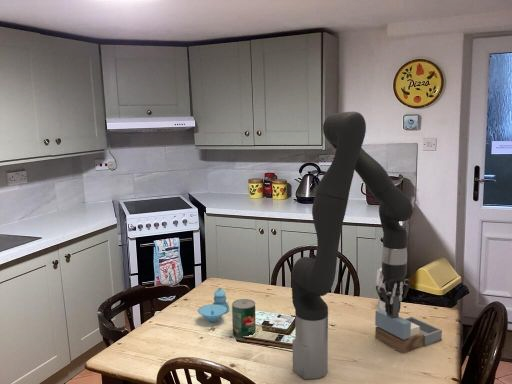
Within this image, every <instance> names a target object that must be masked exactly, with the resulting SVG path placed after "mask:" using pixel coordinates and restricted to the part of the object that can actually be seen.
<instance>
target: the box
mask: <svg viewBox="0 0 512 384" xmlns="http://www.w3.org/2000/svg"><path fill="white" fill-rule="evenodd" d="M404 319H406V320H408V321H410V322H412V323H414V324H416V325H418V326H420V333H422V334H424V343H423V347H426V346H430V345H432V344H435V343H438V342H440V341H442V337H443V335H442V334H443V330H442V329H440V328H439V327H436V326H434V325H432V324H429V323H427V322H424V321H423V320H420V319H418V318H416V317H413V316H408V317H406V318H404Z"/></svg>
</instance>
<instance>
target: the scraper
mask: <svg viewBox="0 0 512 384" xmlns="http://www.w3.org/2000/svg"><path fill="white" fill-rule="evenodd" d="M388 299H390V297H389V298H388ZM392 304H393V314H392V315H389V314H387V313H386V311H385V310H384V309H377V310H375V313H374V315H375V319H374V320H375V321H374V323H375V324H374V325H375V327H377V326H378V327H380V328H382V329H384V330H385V331H387V332H389V333H391V334H393V335H395V336H397V337H399V338H401V339H403V340H404V339H407V338H410V334H411V322H410V321H408V320H406V319H405V318H403V317H401V316H399V315H400V314H399V313H400V312H399V295H396V294H395V297H393V303H392Z"/></svg>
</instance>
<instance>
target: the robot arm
mask: <svg viewBox="0 0 512 384" xmlns="http://www.w3.org/2000/svg"><path fill="white" fill-rule="evenodd" d="M322 131H323V135H324V138H326V140H327V141H328V142H329V144H330V145H331V147H333V148H334V149H335V153H334V156H333V159H332V161H331V164H330V165H329V167H328V168H327V170H326V172H325V173H324V175H323V176H322V178H321V180H319V182H318V185H317V187H316V189H315V194H314V197H313V203H312V207H311V215H312V221H313V226H314V229H315V233H316V239H317V243H316V244H317V246H316V253H315V258H313V257H309V256H303V257H300V258H298V259H297V260H296V262H294V264H293V266H292V270H291V277H290V278H291V279H290V281H291V282H290V283H291V296H292V305H293V308H294V310H295V312H294V313H295V321H294V322H295V326H294V327H295V331H294V332H295V338H293V339H292V371H294V373H295V374H297V375H299V376H300V377H301V378H302V379H304V380H309V379H312V380H314V379H315V380H316V379H320V378H323V377H325V376H326V375H327V374H328V371H329V369H328V365H329V364H328V362H329V360H328V357H329V356H328V355H329V353H328V351H329V350H328V348H329V343H328V342H329V335H328V334H329V307H328V304H327V303H326V301H324V299H323V298H322V297H324V296H325V295H327V294H328V293H329V292H330V291H331V289H332V288H333V285H334V283H335V278H336V273H337V271H336V270H337V263H338V256H339V255H338V254H339V253H338V252H339V245H340V240H341V235H342V229H343V224H344V219H345V215H346V212H347V207H348V202H349V197H350V192H351V191H350V190H351V186H352V183H353V178H354V175H355V174H354V173H355V172H356V173H357V174H358V176H359V177H360V179H361V181H363V183H364V185H365V186H366V188H367V189H368V190H369V191H370V193H371V195H372V196H373V197H374V198H375V199H376V200H378V201H380V203H379V205H378V214H379V220H380V225H381V230H382V233H383V234H382V235H383V237H382V240H383V241H382V251H381V267H382V275H383V281H382V284H381V285H380V286H377V285H376V286H375V290H376V293H377V295H379V296H378V299H379V298H380V300H381V301H382V302H385V303H386V306H385V311H386V313H387V314H389V315H392V314H393V304H392V303H393V297H395V294H396V295H399V313H400V311H401V302H402V301H403V299H406V297H407V295H408V292H409V289H410V286H411V284H412V281H411V279H410V280H409V279H408V278H406V276H407V273H408V272H407V269H408V268H407V267H408V251H407V250H408V249H407V247H408V246H407V242H408V233H407V230H406V229H405V227H403V226H401V224H400V222H402V223H403V222H407V221H408V220H410V219H411V218H412V216H413V213H414V207H413V204H412V201H411V200H410V198H408V196H407V195H406V194H405V193H404V192H403V191H402V190H401V188H399V187H398V186H396V184H395V183H394V182H393V180H392V179H391V176H390V175H389V174H388V172H387V171H386V169H385V168H384V167H383V166H382V165H381V164H380V163H379V162H378V160H376V159H375V158H373V156H371V155H370V154H369V153H368V152H366V151H365V150H364V149H363V148H362V146H363V144H364V141H365V137H366V132H367V124H366V120H365V118H364V116H363V115H362V114H361V113H360V112H357V111H344V112H336V113H331V114H330V115H328V116H326V118H325V120H324V121H323V125H322ZM389 292H390V293H389ZM389 297H390V299H388V298H389Z"/></svg>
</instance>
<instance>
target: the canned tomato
mask: <svg viewBox="0 0 512 384" xmlns="http://www.w3.org/2000/svg"><path fill="white" fill-rule="evenodd" d="M231 309H232V311H231V312H232V314H231V315H232V317H231V319H232V336H233V338H235V339H239V340H245V339H244V338H242V337H243V336H249V335H253V334H254V333H255V332H256V333H257V331H256V322H257V321H256V302H255V301H254V300H252V299H248V298H238V299H236V300H234V301H233V302H232V303H231Z"/></svg>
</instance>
